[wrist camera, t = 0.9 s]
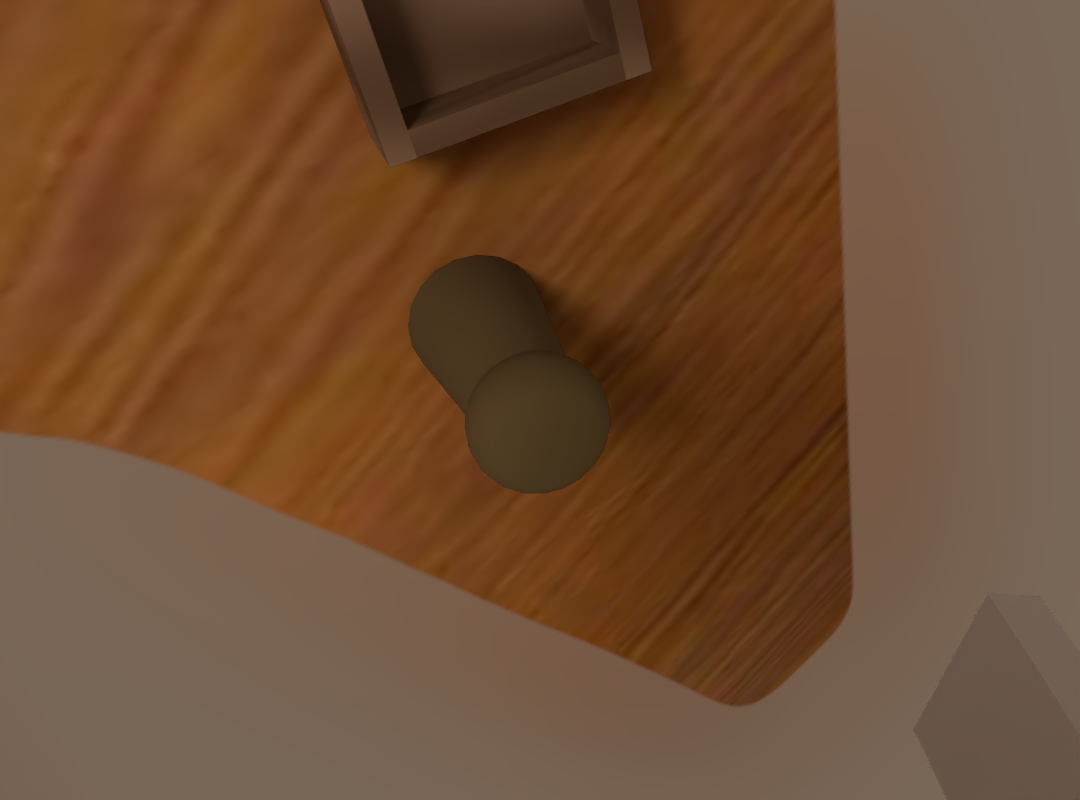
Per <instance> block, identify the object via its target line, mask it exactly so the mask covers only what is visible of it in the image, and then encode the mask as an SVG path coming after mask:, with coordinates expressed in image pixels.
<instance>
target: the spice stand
mask: <svg viewBox="0 0 1080 800" xmlns="http://www.w3.org/2000/svg"><path fill="white" fill-rule="evenodd" d="M320 2H321V4H322V7H323V10H324V12H325V15H326V18H327V20H328V23H329V26H330V28H331V31H332V34H333V36H334V39H335V42H336V44H337V47H338V50H339V52H340V55H341V58H342V60H343V63H344V66H345V68H346V71H347V74H348V76H349V79H350V82H351V84H352V87H353V90H354V92H355V95H356V98H357V100H358V103H359V106H360V108H361V111H362V114H363V116H364V119H365V122H366V124H367V127H368V130H369V132H370V135H371V138H372V139H373V141H374V142H375V144H376V146H377V147H378V149H379V151H380V152H381V154H382V155H383V157H384V159H385V160H386V162H387V164H388V165H389V167H390V168H391V167H394V166H397V165H400V164H402V163H405V162H408V161H410V160H413V159H416V158H418V157H421V156H424V155H427V154H429V153H432V152H435V151H437V150H440V149H443V148H445V147H448V146H451V145H453V144H456V143H459V142H462V141H464V140H467V139H470V138H472V137H475V136H478V135H480V134H483V133H486V132H488V131H491V130H494V129H497V128H499V127H502V126H505V125H507V124H510V123H513V122H515V121H518V120H521V119H524V118H526V117H529V116H532V115H534V114H537V113H540V112H542V111H545V110H548V109H550V108H553V107H556V106H559V105H561V104H564V103H567V102H569V101H572V100H575V99H577V98H580V97H583V96H585V95H588V94H591V93H594V92H596V91H599V90H602V89H604V88H607V87H610V86H612V85H615V84H618V83H621V82H623V81H626V80H629V79H631V78H634V77H637V76H639V75H642V74H645V73H647V72H650V71H652V69H651V64H650V59H649V54H648V49H647V44H646V39H645V34H644V29H643V24H642V19H641V14H640V9H639V4H638V0H320Z"/></svg>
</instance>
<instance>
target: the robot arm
mask: <svg viewBox="0 0 1080 800" xmlns="http://www.w3.org/2000/svg"><path fill="white" fill-rule="evenodd" d="M913 730H914V732H915V734H916V736H917V738H918V740H919V742H920V744H921V747H922V748H923V751H924V753H925V755H926V757H927V759H928V761H929V763H930V765H931V768H932V770H933V772H934V774H935V776H936V778H937V780H938V782H939V784H940V786H941V788H942V791H943V793H944V795H945V797H946V799H947V800H1080V651H1079V650H1078V649H1077V647H1076V646H1075V644H1074V643H1073V642H1072V640H1071V639H1070V637H1069V636H1068V635H1067V633H1066V632H1065V630H1064V629H1063V628H1062V626H1061V625H1060V623H1059V622H1058V620H1057V619H1056V618H1055V616H1054V615H1053V614H1052V612H1051V611H1050V609H1049V608H1048V606H1047V605H1046V604H1045V602H1044V601H1043V600H1042V598H1041V597H1038V596H1024V595H1010V594H996V593H988V594H987V595H986V597H985V599H984V600H983V602H982V604H981V606H980V608H979V610H978V612H977V614H976V615H975V617H974V619H973V621H972V622H971V624H970V626H969V628H968V630H967V632H966V633H965V635H964V637H963V639H962V641H961V643H960V644H959V646H958V648H957V650H956V652H955V654H954V655H953V657H952V659H951V661H950V663H949V665H948V666H947V668H946V670H945V672H944V674H943V676H942V677H941V679H940V681H939V683H938V685H937V687H936V689H935V690H934V692H933V694H932V696H931V698H930V699H929V701H928V703H927V705H926V707H925V708H924V711H923V712H922V714H921V716H920V718H919V719H918V721H917V724H916V725H915V727H914V729H913Z"/></svg>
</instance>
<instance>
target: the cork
mask: <svg viewBox="0 0 1080 800" xmlns="http://www.w3.org/2000/svg"><path fill="white" fill-rule="evenodd" d="M408 328H409V332H410V337H411V342H412V346H413V348H414V349H415V351H416V353H417V354H418V356H419V357H420V359H421V361H422V362H423V363H424V365H425V366H426V367H427V368H428V369H429V371H430V372H431V373H432V374H433V376H434V377H435V378H436V379H437V380H438V382H439V383H440V384H441V385H442V387H443V388H444V389H445V390H446V391H447V393H448V394H449V395H450V396H451V398H452V399H453V400H454V401H455V402H456V404H457V405H458V406H459V407H460V408H461V410H462V411H463V412H464V413H465V415H466V416H465V430H466V435H467V441H468V446H469V448H470V451H471V453H472V455H473V457H474V458H475V460H476V461H477V463H478V464H479V466H480V468H481V469H482V471H484V472H485V473H486V474H487V475H488V476H489V477H491V478H492V479H493V480H495V481H496V482H497V483H499V484H500V485H502V486H503V487H505V488H509V489H512V490H515V491H519V492H522V493H548V492H552V491H555V490H559V489H563V488H565V487H567V486H569V485H570V484H572V483H574V482H576V481H577V480H579V479H581V478H582V477H583V476H584V475H585V474H586V473H587V472H588V471H589V470H590V469H591V468H592V467H593V466H594V465H595V463H596V462H597V460H598V458H599V457H600V455H601V453H602V452H603V450H604V447H605V445H606V441H607V437H608V433H609V429H610V415H609V406H608V402H607V398H606V396H605V394H604V392H603V390H602V388H601V386H600V384H599V382H598V381H597V379H596V378H595V377H594V376H593V375H592V374H591V373H590V372H589V371H588V370H587V369H586V368H585V367H584V366H582V365H581V364H580V363H579V362H578V361H576V360H574V359H572V358H569V357H567V356H565V355H564V352H563V350H562V348H561V345H560V343H559V340H558V338H557V335H556V333H555V331H554V328H553V326H552V323H551V321H550V319H549V316H548V314H547V311H546V309H545V306H544V304H543V302H542V299H541V297H540V295H539V293H538V291H537V289H536V287H535V285H534V283H533V281H532V279H531V278H530V277H529V276H528V275H527V274H526V273H525V272H524V271H523V270H522V269H521V268H520V267H519V266H518V265H516V264H514V263H511V262H509V261H507V260H504V259H502V258H500V257H495V256H483V255H475V256H470V257H466V258H461V259H457V260H454V261H452V262H451V263H449V264H447V265H445V266H444V267H442V268H440V269H438V270H436V271H435V272H434V273H433V274H432V275H431V276H430V278H429V279H428V280H427V281H426V282H425V283H424V284H423V285H422V286H421V287H420V289H419V291H418V293H417V295H416V297H415V299H414V301H413V303H412V305H411V310H410V318H409V325H408Z"/></svg>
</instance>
